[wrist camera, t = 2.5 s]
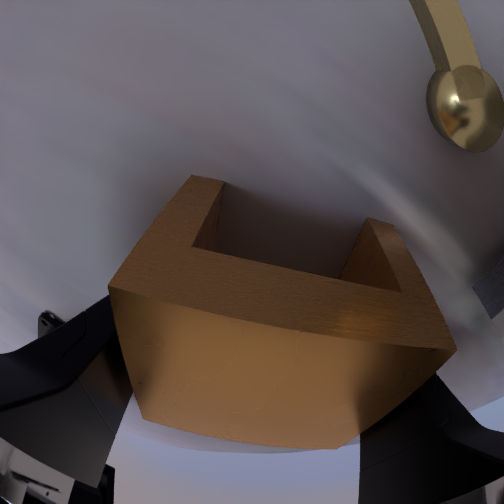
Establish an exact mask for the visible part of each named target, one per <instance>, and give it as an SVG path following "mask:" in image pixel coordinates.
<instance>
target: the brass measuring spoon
mask: <svg viewBox="0 0 504 504" xmlns="http://www.w3.org/2000/svg"><path fill="white" fill-rule="evenodd" d="M409 2H410V4H411V6H412V8H413V10H414V12H415V15H416V17H417V19H418V22H419V24H420V26H421V29H422V31H423V34H424V36H425V39H426V42H427V44H428V47H429V50H430V53H431V56H432V59H433V62H434V65H435V68H436V71H435V73H434V74H433V75H432V77H431V79H430V81H429V84H428V87H427V94H426V102H427V109H428V113H429V116H430V119H431V121H432V123H433V125H434V127H435V128H436V130H437V131H438V132H439V133H440V135H442V136H443V137H444V138H445V139H446V140H448V141H450V142H452V143H454V144H456V145H458V146H460V147H462V148H463V149H465V150H467V151H470V152H483V151H486V150H488V149H489V148H491V147H492V146H493V145H494V144H495V143H496V142H497V140H498V139H499V137H500V135H501V133H502V130H503V126H504V102H503V98H502V95H501V92H500V90H499V88H498V86H497V84H496V83H495V81H494V80H493V78H492V77H491V76H490V75H489V74H488V73H487V72H485V71H484V70H483V69H481V66H480V62H479V59H478V55H477V52H476V49H475V46H474V43H473V40H472V37H471V34H470V31H469V28H468V26H467V23H466V21H465V18H464V16H463V13H462V11H461V8H460V6H459V4H458V2H457V0H409Z"/></svg>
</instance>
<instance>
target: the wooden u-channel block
mask: <svg viewBox="0 0 504 504" xmlns="http://www.w3.org/2000/svg"><path fill="white" fill-rule="evenodd" d="M223 186H224V182H223V181H218V180H213V179H208V178H203V177H198V176H193V175H191V177H190V178H189V179H188V180H187V181H186V183H185V184H184V185H183V186H182V187H181V188H180V190H179V191H178V192H177V193H176V194H175V196H174V197H173V198H172V199H171V201H170V202H169V203H168V204H167V205H166V207H165V208H164V209H163V210H162V212H161V213H160V214H159V215H158V217H157V218H156V219H155V221H154V222H153V223H152V224H151V226H150V227H149V228H148V230H147V231H146V232H145V234H144V235H143V236H142V238H141V239H140V240H139V242H138V243H137V244H136V246H135V247H134V248H133V250H132V251H131V252H130V254H129V255H128V257H127V258H126V259H125V261H124V262H123V264H122V265H121V266H120V268H119V269H118V271H117V272H116V274H115V275H114V276H113V278H112V279H111V281H110V282H109V284H108V290H109V296H110V301H111V306H112V311H113V316H114V320H115V325H116V329H117V334H118V338H119V342H120V346H121V350H122V353H123V357H124V361H125V364H126V368H127V371H128V375H129V378H130V381H131V385H132V388H133V391H134V394H135V397H136V400H137V403H138V406H139V409H140V411H141V414H142V417H143V419H145V420H148V421H151V422H154V423H158V424H161V425H165V426H168V427H172V428H176V429H179V430H183V431H187V432H192V433H196V434H200V435H205V436H210V437H215V438H220V439H225V440H231V441H237V442H244V443H250V444H258V445H267V446H276V447H288V448H303V449H338V448H339V447H341V446H342V445H344V444H345V443H347V442H349V441H350V440H352V439H353V438H355V437H356V436H358V435H359V434H361V433H362V432H363V431H365V430H366V429H368V428H369V427H371V426H372V425H373V424H375V423H376V422H377V421H379V420H380V419H381V418H383V417H384V416H385V415H387V414H388V413H389V412H390V411H392V410H393V409H394V408H395V407H397V406H398V405H399V404H400V403H402V402H403V401H404V400H405V399H406V398H408V397H409V396H410V395H411V394H412V393H413V392H415V391H416V390H417V389H418V388H419V387H420V386H421V385H422V384H423V383H425V382H426V381H427V380H428V379H429V378H430V377H431V376H432V375H433V374H434V373H435V372H436V371H437V370H438V369H439V368H440V367H441V366H442V365H443V364H444V363H445V362H446V361H447V360H448V359H449V358H450V357H451V356H452V355H453V354H454V353H455V352H456V351H457V348H456V345H455V343H454V340H453V338H452V336H451V333H450V331H449V329H448V327H447V324H446V322H445V320H444V318H443V316H442V313H441V311H440V309H439V307H438V305H437V303H436V301H435V299H434V297H433V295H432V293H431V291H430V289H429V287H428V285H427V283H426V281H425V279H424V278H423V276H422V274H421V272H420V270H419V268H418V266H417V265H416V263H415V261H414V259H413V258H412V256H411V254H410V252H409V251H408V249H407V247H406V246H405V244H404V242H403V241H402V239H401V237H400V236H399V234H398V232H397V231H396V229H395V227H394V226H393V225H390V224H387V223H384V222H380V221H377V220H374V219H370V218H367V219H366V221H365V223H364V226H363V228H362V230H361V233H360V235H359V237H358V239H357V242H356V244H355V246H354V248H353V250H352V253H351V255H350V257H349V259H348V261H347V263H346V265H345V267H344V270H343V272H342V274H341V276H340V278H339V279H334V278H330V277H325V276H320V275H316V274H311V273H307V272H302V271H297V270H293V269H288V268H284V267H279V266H275V265H270V264H266V263H261V262H257V261H252V260H248V259H243V258H239V257H234V256H230V255H225V254H221V253H217V252H213V247H214V240H215V234H216V228H217V221H218V215H219V209H220V203H221V197H222V191H223Z"/></svg>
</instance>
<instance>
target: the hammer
mask: <svg viewBox="0 0 504 504" xmlns="http://www.w3.org/2000/svg"><path fill="white" fill-rule="evenodd" d="M472 288H473V289H474V291H475V292H476V294H477V296H478V297H479V299H480V301H481V302H482V304H483V306H484V308H485V309H486V311H487V313H488V315H489V316H490V318H491V320H492V322H493V324H494V325H495V327H496V329H497V331H498V333H499V335H500V337H501V338H502V337H503V336H504V257H503V258H502V259H501V260H500V261H499V262H498V263H497V264H496V265H495V266H494V267H493V268H492V269H491V270H490V271H489V272H488V273H487V274H486V275H485V276H483V277H482V278H481V279H480V280H479V281H478V282H477V283H476V284H475V285H474V286H472Z"/></svg>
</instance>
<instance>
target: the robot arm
mask: <svg viewBox="0 0 504 504" xmlns="http://www.w3.org/2000/svg"><path fill="white" fill-rule="evenodd" d="M132 393H133V388H132V385H131V381H130V378H129V375H128V371H127V368H126V364H125V361H124V357H123V353H122V350H121V346H120V342H119V338H118V334H117V329H116V325H115V320H114V316H113V311H112V306H111V301H110V296H109V295H107V296H106V297H104V298H103V299H101V300H100V301H98V302H97V303H95V304H94V305H92V306H91V307H89V308H88V309H86V310H85V311H83V312H81V313H80V314H78V315H77V316H75V317H74V318H72V319H71V320H69V321H68V322H66V323H64V324H63V325H62V324H60V323H59V322H57V321H56V320H55V319H53V318H52V317H51V316H49V315H48V314H46V313H44V312H42V313H41V315H40V316H39V318H38V339H36V340H34V341H32V342H31V343H29V344H27V345H25V346H23V347H22V348H20V349H18V350H15V351H13V352H9V353H4V354H0V504H113V503H114V501H113V500H114V477H115V469H114V468H113V467H111V466H109V465H107V464H105V463H106V461H107V457H108V455H109V452H110V449H111V446H112V444H113V441H114V439H115V435H116V433H117V431H118V428H119V426H120V423H121V420H122V418H123V415H124V413H125V410H126V408H127V405H128V403H129V400H130V398H131V395H132ZM358 504H504V433H503V432H499V431H495V430H491V429H488V428H485V427H484V426H482V425H481V424H479V423H478V422H477V421H476V420H475V418H474V417H473V416H472V415H471V414H470V413H469V412H468V410H467V409H466V408H465V407H464V406H463V405H462V404H461V402H460V401H459V400H458V399H457V398H456V397H455V396H454V394H453V393H452V392H451V391H450V390H449V389H448V387H447V386H446V385H445V384H444V382H443V381H442V380H441V378H440V377H439V376H437V374H436V372H435V373H434V374H433V375H432V376H431V377H430V378H429V379H428V380H427V381H426V382H425V383H423V384H422V385H421V386H420V387H419V388H418V389H417V390H416V391H415V392H413V393H412V394H411V395H410V396H409V397H408V398H406V399H405V400H404V401H403V402H402V403H400V404H399V405H398V406H397V407H395V408H394V409H393V410H392V411H390V412H389V413H388V414H387V415H385V416H384V417H383V418H381V419H380V420H379V421H377V422H376V423H375V424H373V425H372V426H371V427H369V428H368V429H366V430H365V431H363V432H362V433H361V434H360V479H359V499H358Z"/></svg>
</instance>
